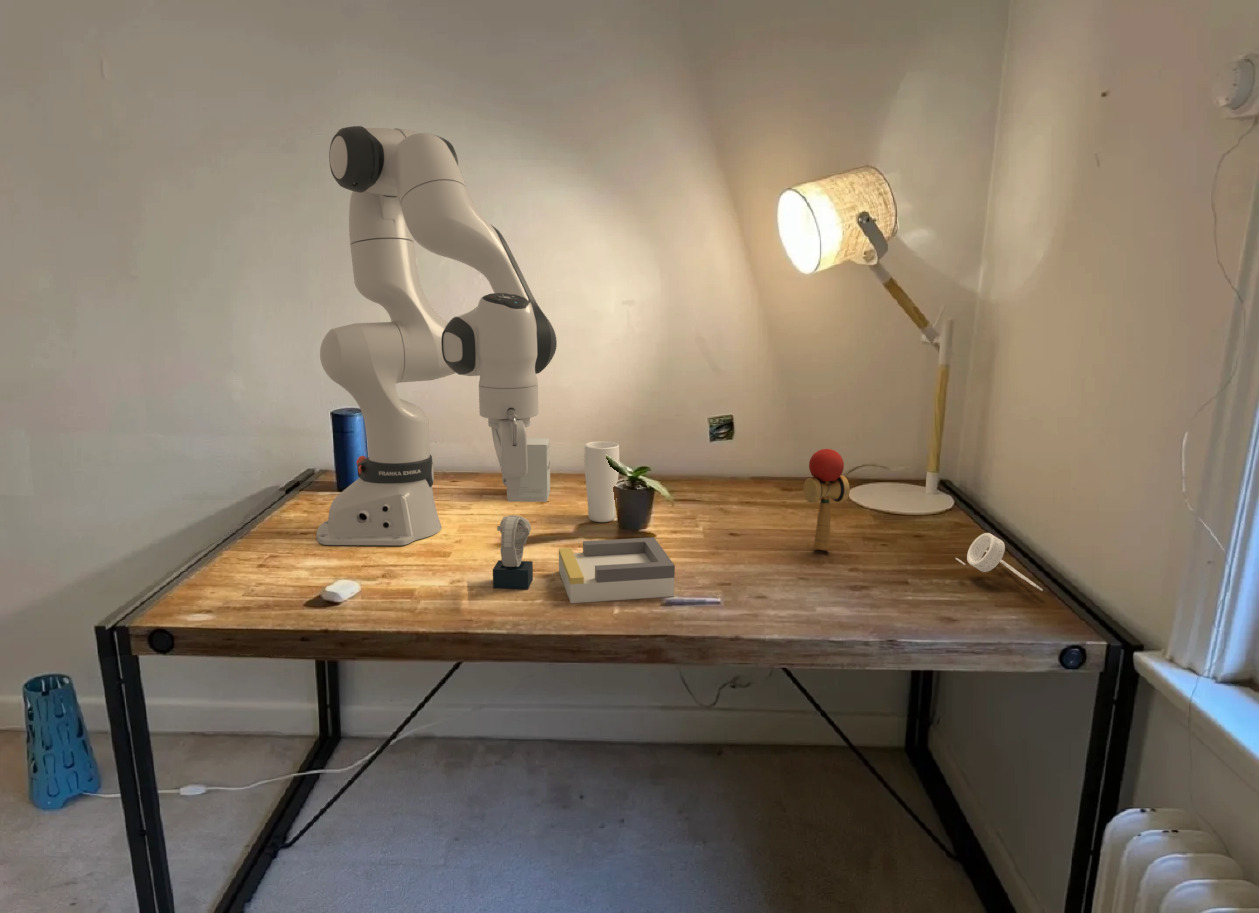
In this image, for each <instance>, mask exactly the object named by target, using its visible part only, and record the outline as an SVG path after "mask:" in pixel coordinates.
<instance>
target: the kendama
mask: <svg viewBox="0 0 1259 913" xmlns="http://www.w3.org/2000/svg"><path fill="white" fill-rule="evenodd" d="M844 468H845V464H844V460H843V457H842V456H841V454H840V453H839V452H838V451H836V450H835V449H832V448H831V449H830V448H822V449H819V450H817V451H816V452H814V453H813V454H812V455H811V457H810V458H809V462H808V469H809V472H810V474H811V476H812V477H808V478H807V479H805V481H804V484H803V489H802V490H803V494H804V498H805V500H806V501H807V502H808V503H811V504H812V503H817V502H819V501H820V503H819V507H818V513H817V520H816V529H815V536H814V542H813V549H816V550H817V551H818V550H819V551H828V550H830V549H831V508H830V506H831V505H830V498H831V499H832V500H833V501H834V502H836V503H841V502H842V503H843V502H845V501H847V499H849V496H850V492H851V491H850V490H851V489H850V483H849V480H848V478H846V476H845V475H843V472H844Z"/></svg>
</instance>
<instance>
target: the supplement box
mask: <svg viewBox="0 0 1259 913" xmlns="http://www.w3.org/2000/svg"><path fill="white" fill-rule="evenodd" d="M527 461H528V471H527V475H526V476H525V477H521V483H520V499H519V501H518V502H533V503H535V502H536V503H537V502H538V503H539V502H542V503H544V502H545V503H548V500H549V496H550V494H551V439H550V438H549V437H527Z"/></svg>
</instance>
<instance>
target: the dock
mask: <svg viewBox="0 0 1259 913" xmlns="http://www.w3.org/2000/svg"><path fill="white" fill-rule="evenodd" d="M675 566H676V565H675V563H673V561H672V559H671V558H670V557H669V555H668V554H667V553H666V551H665V550H664V549H663V547H662V546H661V545H660V543H659V542H658V541H657V540H656V538H655V537H654V536H653V537H639V538H638V537H637V538H636V537H635V538H620V539H618V538H616V539H602V540H601V539H599V540H583V541H582V552H575V553H574V551H573V550H572V547H560V548H558V573H559V576H560V578H561V581H562V583H563V586H564V589H565V592H566V594H567V597H568V600H569V602H570V604H577V603H579V604H581V603H595V602H597V603H598V602H609V601H610V602H611V601H624V600H625V601H626V600H638V599H652V598H654V599H655V598H656V599H657V598H668V597H675V574H676V572H675V571H676V570H675V569H676V567H675Z"/></svg>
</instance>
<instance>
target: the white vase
mask: <svg viewBox="0 0 1259 913" xmlns="http://www.w3.org/2000/svg"><path fill="white" fill-rule="evenodd" d="M606 454H607V455H608V456H610V457H611V458H612V459H613V460H616V461H617V462H618V463H619V464H620V445H619V443H617V442H613V441H607V440H605V441H604V440H601V441H597V440H596V441H590V442H586V443H585V444H584V460H583V461H584V476H585V477H584V478H585V485H586V486H585V487H586V496H587V497H586V499H587V516H588V519H589V520H590V521H591V522H595V523H608V522H612V521H614V519H615V518H616V507H615V500H614V492H613V487H614V484H616V483H617V482H619V474H620V473H619V472H620V471H619V472H617V471H616V470H614V469H613V468H612V467H610V465H609V463H608V460H607V459H606Z"/></svg>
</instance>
